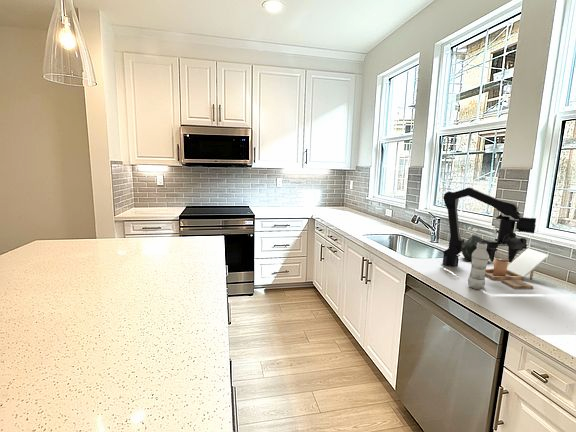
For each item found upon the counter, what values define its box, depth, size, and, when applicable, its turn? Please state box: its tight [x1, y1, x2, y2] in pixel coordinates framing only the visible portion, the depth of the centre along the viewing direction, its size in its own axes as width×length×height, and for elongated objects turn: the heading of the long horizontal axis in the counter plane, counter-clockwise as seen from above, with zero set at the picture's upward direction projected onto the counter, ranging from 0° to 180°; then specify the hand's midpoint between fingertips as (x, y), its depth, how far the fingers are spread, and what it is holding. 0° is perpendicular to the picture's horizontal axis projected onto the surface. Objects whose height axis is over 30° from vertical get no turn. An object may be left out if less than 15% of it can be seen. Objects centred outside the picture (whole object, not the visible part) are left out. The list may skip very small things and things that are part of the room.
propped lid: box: [507, 248, 550, 280], centre depth 147 cm, size 11×11×13 cm
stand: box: [500, 280, 534, 290], centre depth 135 cm, size 9×7×2 cm
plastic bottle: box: [467, 242, 490, 291], centre depth 131 cm, size 6×7×20 cm
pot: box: [492, 257, 509, 276], centre depth 146 cm, size 5×5×8 cm
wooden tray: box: [485, 268, 525, 281], centre depth 146 cm, size 15×11×2 cm
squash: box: [461, 234, 490, 262], centre depth 173 cm, size 14×15×15 cm
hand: (500, 261), depth 145 cm, fingers open, 9 cm apart
